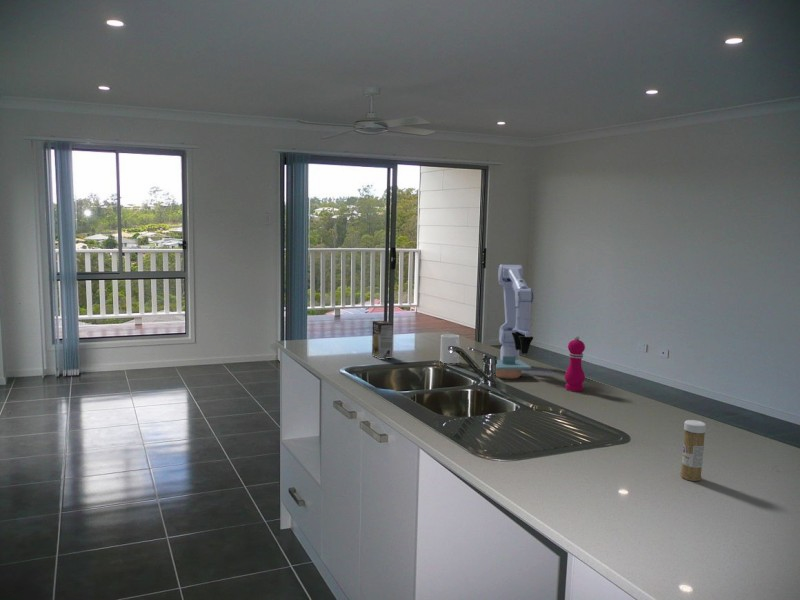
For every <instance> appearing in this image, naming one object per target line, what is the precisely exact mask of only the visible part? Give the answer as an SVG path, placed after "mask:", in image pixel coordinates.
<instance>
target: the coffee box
mask: <svg viewBox="0 0 800 600" xmlns="http://www.w3.org/2000/svg"><path fill="white" fill-rule="evenodd" d="M393 330H394V323H392V322H390V321H387V320H372V339H371V340H372V343H371V348H372V349H371V353H372V354H371V356H372V355H374V356H377V357H378V358H386V357H392V358H393V338H394V336H393V335H394V334H393V333H394V331H393ZM374 356H373V357H374Z"/></svg>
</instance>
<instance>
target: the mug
mask: <svg viewBox="0 0 800 600" xmlns="http://www.w3.org/2000/svg"><path fill="white" fill-rule="evenodd" d="M448 346H457V347H459V348H461V344H460V335H459V334H452V333H443V334H441V335H440V351H439V352H440V354H439V355H440V356H439V362H440V361H441V362H444V363H458V364H460V360H459V359H460V357H459V356H460V355H459V354H458V353H456V352H452V353H450V352H449V351H448V348H447V347H448Z"/></svg>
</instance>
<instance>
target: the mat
mask: <svg viewBox="0 0 800 600" xmlns="http://www.w3.org/2000/svg"><path fill="white" fill-rule="evenodd" d="M531 367H532V366H531ZM521 376H522V377H560V376H561V375H560V374H559V373H557V372H555V371H553V370H552V369H550V368H548V367H545V366H544V367H543V366H541V367H537V366H534V367H532V369H522V374H521Z"/></svg>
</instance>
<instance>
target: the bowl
mask: <svg viewBox="0 0 800 600" xmlns="http://www.w3.org/2000/svg"><path fill="white" fill-rule="evenodd" d="M521 374H522V369H497V370H496V376H495V377H497V378H499V379H500V378H501V379H511V380H513V379H518V378H520V376H521Z"/></svg>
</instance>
